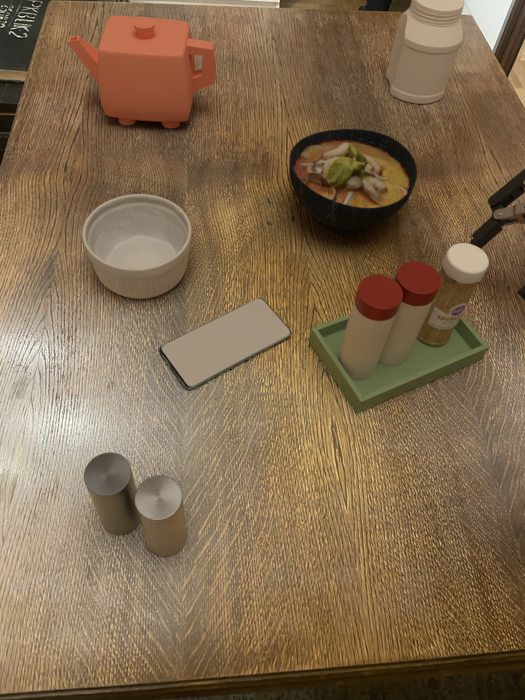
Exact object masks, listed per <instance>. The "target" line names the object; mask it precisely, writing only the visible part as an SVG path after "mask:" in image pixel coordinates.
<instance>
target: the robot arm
mask: <svg viewBox="0 0 525 700" xmlns="http://www.w3.org/2000/svg"><path fill="white" fill-rule="evenodd" d="M523 194H525V168H523V169H522V170H521V171H520V172H518V173H517V174H516V175H515V176H514V177H512V179H510V180H509V181H508V182H506V183H505V184H504V185H502V186H501V187H500V188H499V189H498V190H496V191H495V192H494V193H493V194H492V195H491V196H489V197H488V200H487V203H488V206H489V207H490V210H491V215H490V217H489V218H488V219H487V220H486V221H485V222H483V224H482V225H480V226H479V227H478V228H477V229H476V230H475V231H474V232H473V233H472V234H471V238H472V239H471V240H470V242H469V244H472V245H475V246H477V247H479V248H480V249H481V250H482V249H483V248H484V247H485V246H486V245H487V244H489V242H491V241H492V239H494V238H495V237H496V236H497V235H499V233H501V232H502V231H503V230H504V228H503V227H505V226H511V225H517V224H521V225H525V201H524V202H519V203H515V204H514V205H512V206H510V205H511V204H512V203H513V202H515V201H516V200H518V199H519V198H520V197H521V196H523ZM516 293H517V294H518V296H519V297H520V298H521V299H522V300H523V301H525V284H524V285H523V286H522V287H520V288H519V289H518V290H517V291H516Z"/></svg>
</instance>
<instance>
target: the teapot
mask: <svg viewBox="0 0 525 700" xmlns="http://www.w3.org/2000/svg"><path fill="white" fill-rule="evenodd" d="M67 45H68V46H69V47H70V49H71V50H72V51H73V53H74V54H75V55H76V56H77V58H78V59H79V60H80V62H81V63H82V64H83V66H84V67H85V68H86V69H87V71H88V72H89V73H90V74H91V76H92V77H93V78H94V80H95V81H96V82H97V84H98V91H99V98H100V104H101V107H102V109H103V112H104V114H105V116H107V117H111V118H118V123H119V124H120V125H122V126H132V125H134V124H135V123H137V121H142V122H143V121H144V122H161V125H162V126H163V128H165V129H176V128H178V127H179V126H180V123H182V122H183V123H184V122H187V121H188V120H189V118H190V115H191V111H192V106H193V101H194V95H195V92H198V91H200V90H203V89H205V88H207V87H210V86H212V85H215V84H216V80H217V67H216V66H217V65H216V53H215V42H214V41H209V40H202V39H196V38H193V37H192V31H191V27H190V23H189V21H186V20H185V21H184V20H179V19H171V18H160V17H149V16H133V15H132V16H131V15H111V16H110V17H109V18H108V20H107V22H106V25H105V27H104V31H103V33H102V35H101V38H100V41H99V45H98V48H97V49H96V48H95V47H94V46H92V45H91V44H90V43H88V41H86V40H85V39H84V38H82V36H81V35H75V36H68V38H67ZM196 56H202V68H199V69H197V68H196ZM196 69H197V70H196Z"/></svg>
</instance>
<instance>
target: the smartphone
mask: <svg viewBox="0 0 525 700" xmlns="http://www.w3.org/2000/svg"><path fill="white" fill-rule="evenodd" d="M291 336H292V329H291V328H290V327H289V326H288V325H287V324H286V323H285V321H284V320H283V319H282V318H281V317H280V316H279V314H278V313H277V312H276V311H275V310H274V309H273V308H272V307H271V305H270V304H269V303H268V302H267V301H266V300H265V299H264V298H262V297H256V298H254V299H253V300H250V301H248V302H246V303H244V304H242V305H240V306H238V307H236V308H234V309H232V310H230V311H228V312H226V313H225V314H222V315H220V316H218V317H216V318H214V319H212V320H210V321H208V322H206V323H204V324H202V325H200V326H198V327H196V328H194V329H192V330H190V331H188V332H186V333H184V334H181V335H180V336H178V337H176V338H174V339H172V340H170V341H167V342H165V343H163V344H161V345H160V346H159V348H158V351H159V354H160V355H161V357H162V358H163V360H165V362H166V364H167V365H168V367H169V368H171V370H172V371H173V373H174V375H175V376H176V377H177V378H178V380H179V382H180V383H181V384H182V386H183V387H184V388H185V389H187V390H192V389H195V388H197V387H199V386H201V385H202V384H204V383H206V382H208V381H210V380H211V379H214V378H216V377H217V376H220V375H221V374H222V373H224V372H226V371H228V370H230V369H232V368H234V367H236V366H238V365H240V364H242V363H243V362H246V361H247V360H249V359H251V358H253V357H254V356H256V355H258V354H260V353H262V352H264V351H266V350H267V349H269V348H272V347H273V346H276V345H277V344H280V342H282V341H284V340H286V339H288V338H290V337H291Z"/></svg>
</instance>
